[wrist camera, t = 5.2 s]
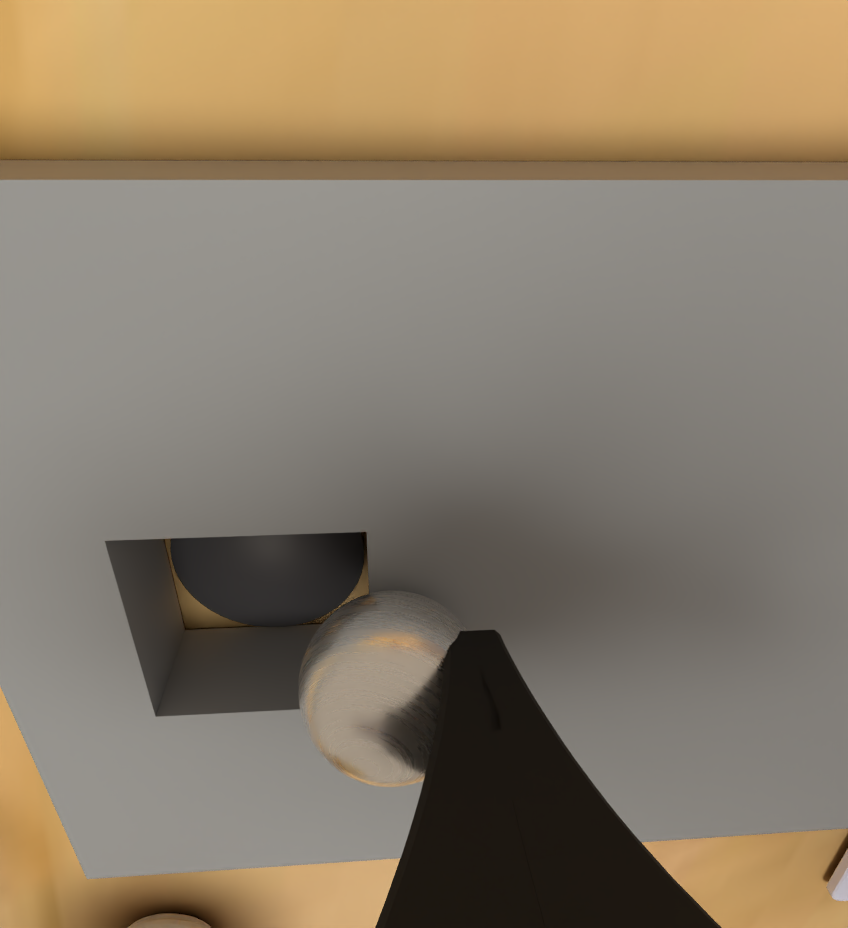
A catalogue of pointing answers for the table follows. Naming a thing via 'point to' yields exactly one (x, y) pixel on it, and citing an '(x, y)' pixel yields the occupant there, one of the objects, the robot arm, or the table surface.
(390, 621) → the steel ball
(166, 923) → the light bulb
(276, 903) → the table surface
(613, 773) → the hole deck
